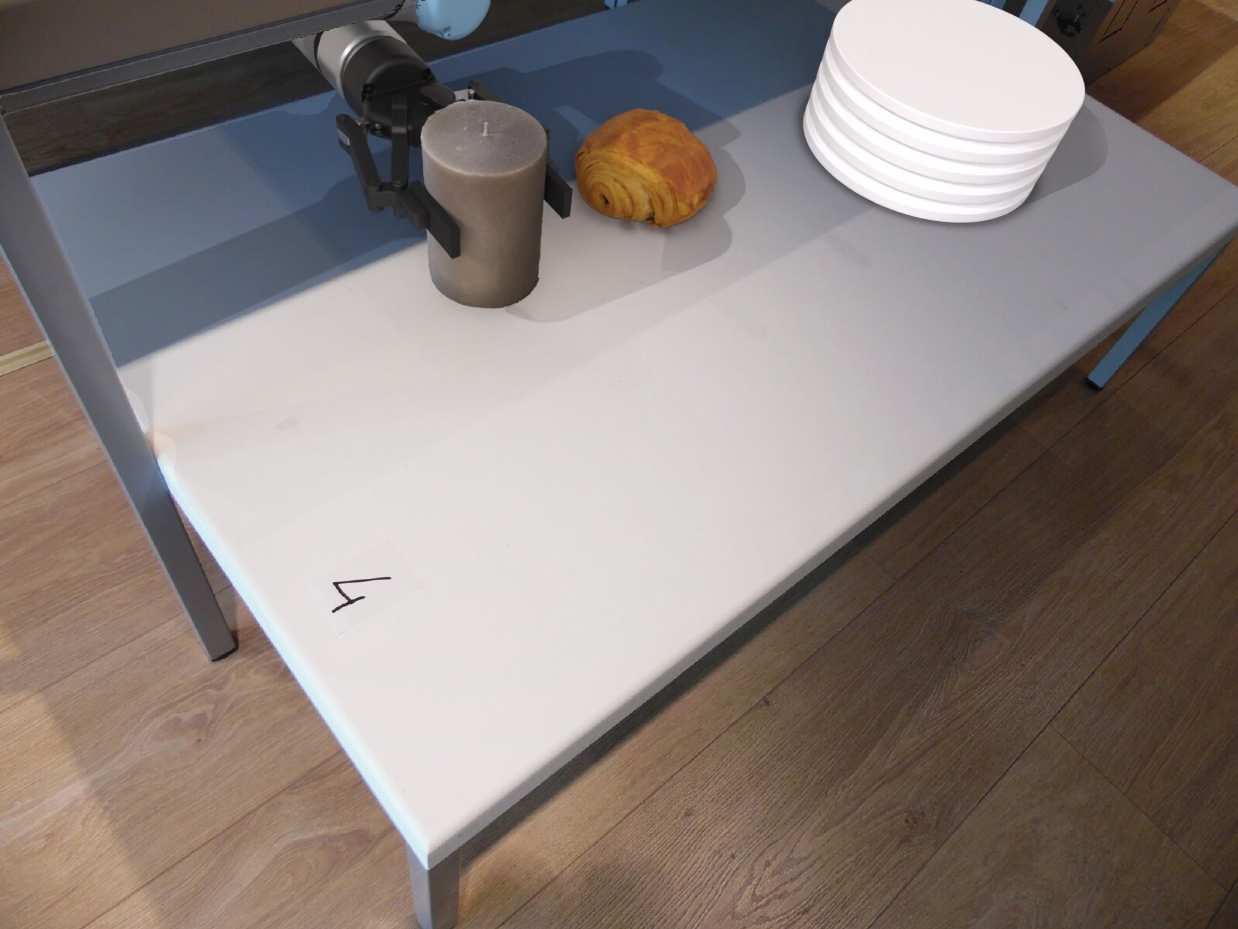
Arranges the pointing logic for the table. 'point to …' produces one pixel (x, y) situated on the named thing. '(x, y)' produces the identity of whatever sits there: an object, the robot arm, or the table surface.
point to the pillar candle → (486, 200)
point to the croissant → (645, 169)
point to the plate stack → (940, 106)
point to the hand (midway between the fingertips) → (513, 223)
